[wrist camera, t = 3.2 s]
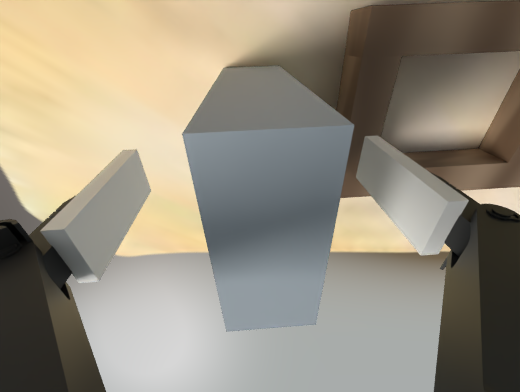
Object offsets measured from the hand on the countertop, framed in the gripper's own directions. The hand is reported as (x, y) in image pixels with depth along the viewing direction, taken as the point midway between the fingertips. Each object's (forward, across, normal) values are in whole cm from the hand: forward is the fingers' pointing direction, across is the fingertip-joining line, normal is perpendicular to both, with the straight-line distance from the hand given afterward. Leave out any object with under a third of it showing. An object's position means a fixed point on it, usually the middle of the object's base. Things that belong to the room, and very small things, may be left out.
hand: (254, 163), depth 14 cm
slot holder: (+6, -15, -1) cm, 17 cm away
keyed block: (+7, 0, 0) cm, 7 cm away
